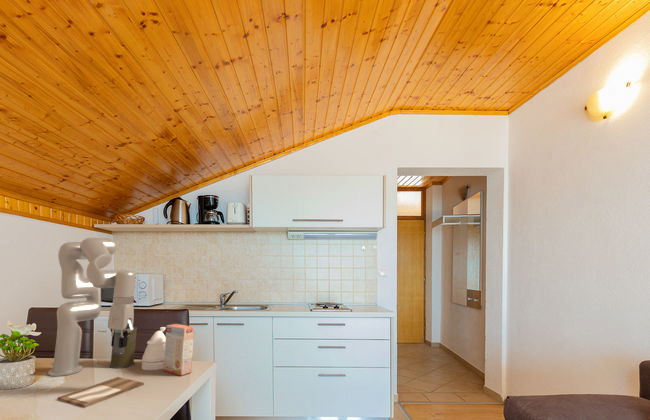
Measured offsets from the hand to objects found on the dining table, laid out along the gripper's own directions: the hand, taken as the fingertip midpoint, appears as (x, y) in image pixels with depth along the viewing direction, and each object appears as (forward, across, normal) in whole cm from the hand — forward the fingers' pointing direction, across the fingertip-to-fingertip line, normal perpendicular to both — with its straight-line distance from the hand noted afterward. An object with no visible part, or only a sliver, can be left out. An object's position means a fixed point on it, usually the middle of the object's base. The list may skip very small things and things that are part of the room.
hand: (119, 345), depth 140 cm
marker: (+3, 0, 0) cm, 3 cm away
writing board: (+17, -2, -4) cm, 17 cm away
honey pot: (+17, -10, +28) cm, 34 cm away
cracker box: (+17, +6, +26) cm, 32 cm away
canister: (+17, -26, +22) cm, 38 cm away
